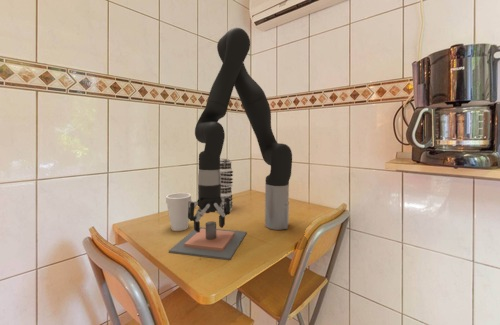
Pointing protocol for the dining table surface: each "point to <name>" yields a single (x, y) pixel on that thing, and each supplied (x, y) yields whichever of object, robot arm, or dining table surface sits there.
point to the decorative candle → (226, 181)
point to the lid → (210, 238)
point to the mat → (224, 254)
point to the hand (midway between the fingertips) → (209, 229)
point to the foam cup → (178, 210)
